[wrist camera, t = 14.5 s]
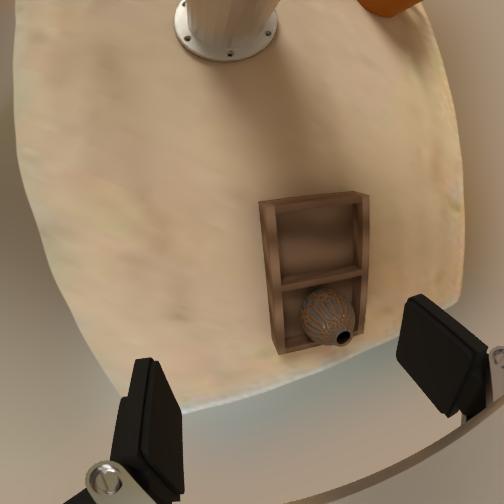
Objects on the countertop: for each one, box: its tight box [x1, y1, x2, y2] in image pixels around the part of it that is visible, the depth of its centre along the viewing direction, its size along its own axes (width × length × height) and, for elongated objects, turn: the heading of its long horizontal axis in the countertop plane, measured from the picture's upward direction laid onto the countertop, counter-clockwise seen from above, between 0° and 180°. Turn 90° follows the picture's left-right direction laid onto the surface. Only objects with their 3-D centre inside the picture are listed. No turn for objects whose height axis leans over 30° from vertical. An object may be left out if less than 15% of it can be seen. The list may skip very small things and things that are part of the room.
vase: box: [299, 288, 355, 346], centre depth 35 cm, size 7×7×9 cm
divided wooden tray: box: [259, 191, 369, 355], centre depth 37 cm, size 20×13×4 cm, turn 7°
